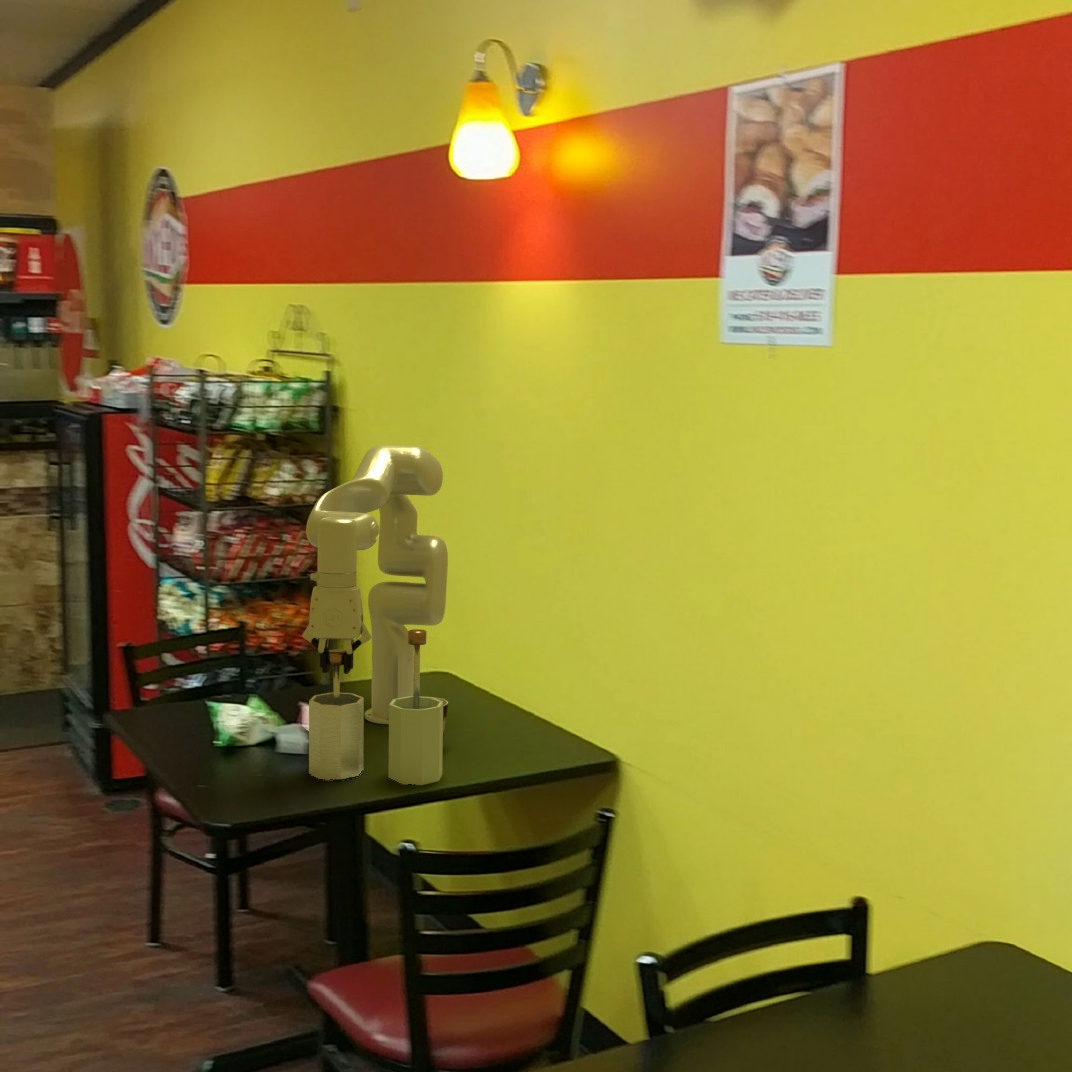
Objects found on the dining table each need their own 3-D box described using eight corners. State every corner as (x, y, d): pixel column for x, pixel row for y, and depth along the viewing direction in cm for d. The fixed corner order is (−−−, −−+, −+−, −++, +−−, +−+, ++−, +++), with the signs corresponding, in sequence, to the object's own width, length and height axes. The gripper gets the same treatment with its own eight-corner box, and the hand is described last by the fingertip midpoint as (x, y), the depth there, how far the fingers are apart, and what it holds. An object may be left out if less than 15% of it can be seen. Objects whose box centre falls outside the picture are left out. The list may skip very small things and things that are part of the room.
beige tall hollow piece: (318, 763, 268) (318, 691, 266) (366, 765, 267) (367, 694, 265) (305, 779, 258) (305, 704, 256) (355, 781, 257) (355, 707, 255)
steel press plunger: (322, 728, 266) (322, 646, 263) (359, 730, 265) (360, 648, 263) (312, 739, 258) (312, 654, 256) (350, 741, 257) (351, 656, 255)
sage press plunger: (400, 709, 264) (401, 626, 261) (438, 711, 263) (439, 628, 261) (393, 720, 256) (394, 634, 254) (431, 722, 255) (433, 636, 253)
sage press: (395, 767, 267) (396, 695, 264) (444, 770, 266) (445, 697, 264) (385, 783, 257) (386, 708, 255) (436, 786, 256) (437, 710, 254)
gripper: (290, 581, 254) (290, 674, 257) (374, 585, 253) (374, 678, 255) (300, 575, 262) (300, 665, 264) (382, 578, 260) (382, 669, 263)
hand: (336, 671), depth 260 cm, fingers closed on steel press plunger, 3 cm apart
